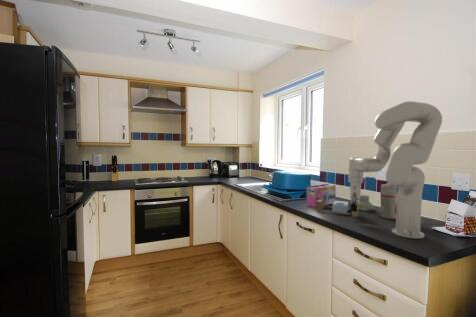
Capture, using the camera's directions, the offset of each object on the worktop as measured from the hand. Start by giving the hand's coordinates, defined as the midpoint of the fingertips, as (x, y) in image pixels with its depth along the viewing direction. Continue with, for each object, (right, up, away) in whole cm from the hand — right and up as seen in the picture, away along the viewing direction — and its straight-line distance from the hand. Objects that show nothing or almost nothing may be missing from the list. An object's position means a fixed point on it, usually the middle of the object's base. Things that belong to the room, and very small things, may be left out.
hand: (354, 209), depth 145 cm
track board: (-6, -4, +13) cm, 15 cm away
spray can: (+20, -5, +2) cm, 21 cm away
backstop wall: (-14, -4, +17) cm, 22 cm away
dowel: (0, -5, 0) cm, 5 cm away
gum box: (-8, -4, +32) cm, 33 cm away
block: (-3, -3, +11) cm, 12 cm away
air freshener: (+14, -5, +17) cm, 23 cm away
